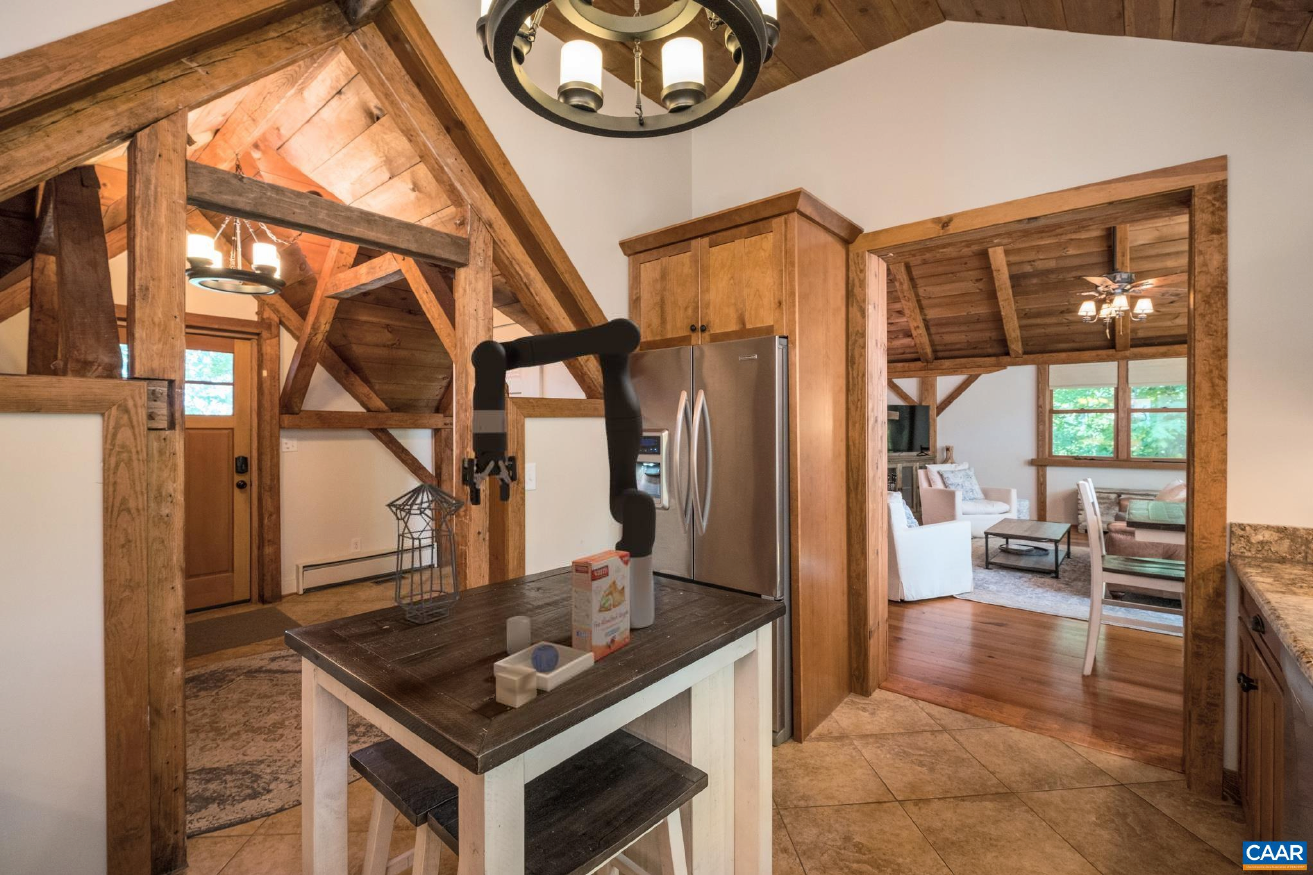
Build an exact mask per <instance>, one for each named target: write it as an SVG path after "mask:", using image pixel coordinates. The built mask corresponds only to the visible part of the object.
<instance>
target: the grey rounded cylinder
mask: <svg viewBox="0 0 1313 875" xmlns="http://www.w3.org/2000/svg"><path fill="white" fill-rule="evenodd" d="M531 644H532V642H531V618H530V617H529V616H526V615H517V616H512V617H509V618H507V619H506V645H507V646H506V654H508V655H509V656H511V655H513V654H515V653H517V652H520V651H522V650H524V649H526V648H528V647H530V646H532V645H531Z"/></svg>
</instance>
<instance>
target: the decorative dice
mask: <svg viewBox="0 0 1313 875" xmlns="http://www.w3.org/2000/svg"><path fill="white" fill-rule="evenodd" d="M558 661H559V654H558V651H557V649H556V648H555V647H554V646H552V645H540V646H538V647H536V648H535V649H534V651H533V653H532V655H531V662H532V665H533V667H534V668H535V669H536V670H537V671H540V672H547V671H551V670H553V669H554V668H555V667H556V665H557V664H558Z"/></svg>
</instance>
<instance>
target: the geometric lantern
mask: <svg viewBox="0 0 1313 875" xmlns="http://www.w3.org/2000/svg"><path fill="white" fill-rule="evenodd" d="M425 493H426V500H425V501H424V496H425ZM420 497H421V498H420ZM430 497H431V498H432V499H430ZM404 498H406V499H404ZM419 498H420V501H419V503H418V502H417V501H418V500H419ZM448 498H449V499H448ZM402 499H404V501H403V502H401V503H397V502H398V501H401V500H402ZM451 500H453V502H452V501H451ZM434 502H436V503H437V505H438V506H439V507H432V504H433V503H434ZM423 504H428V505H426V506H423ZM445 505H447V506H445ZM465 505H467V502H466V501H464V500H461V499H459V497H456V496H454V495H452V494H450V493H448V492H447V491H445V490H443V489H441V488H440V487H438V486H436V485H434V484H432V483H427V482H426V483H421V484H419V485H417V486H416V487H414V488H413V489H411V490H409V491H407V492H406V493H404V494H401V496H399V497H397V498H395V499H394V500H391V502H388V503H387V504H385V507H387V508H388V509H389V510H390V512H391V513H392V514H393V516H395V519H396V521H397V548H396V566H395V567H396V568H395V570H396V571H395V588H394V602H395V603H396V604H398V605H399V606H400V607H401V608H402V609H403V610H405V619H406V620H408V621H411V622H414V623H417V624H419V625H422V624H426V623H430V622H434V621H436V620H440V619H443V618H445V617H449V616H450V614H449V612H450V610H449V609H450V607H452V606H453V605H454V604H455V603H456V602H458V600H459V597H460V593H459V591H460V590H459V581H458V580H459V579H458V565H457V564H458V563H457V548H456V532H455V531H453V526H452V516H456V513H457V512H458V511H459V510H460V509H461V508H462V507H463V506H465ZM414 506H418V507H417V508H414ZM406 507H407V508H406ZM393 508H395V510H394V509H393ZM452 508H453V509H452ZM427 510H428V511H430V512H431V515H429V514H427V513H426V511H427ZM441 510H442V512H441V513H442V516H439V517H437V518H435V516H434V511H441ZM398 511H399V514H398ZM412 511H418V513H416V512H415V513H413V512H412ZM402 512H403V513H405V514H404V515H402ZM445 512H446V513H445ZM398 515H400V516H398ZM423 515H424V516H425V517H427V518H428V519H429V520H428V521H427V520H426V518H425V517H424V516H423ZM411 516H420V517H421V518H422V519H423V521H424V522H425V523H426V525H425V526H424V528H423V529H422V530H415V531H412V530H411V529H410V527H409V525H408V523H409V520H410V518H411ZM448 516H449V520H450V521H449V522H450V526H449V524H448V522H447V518H448ZM405 519H406V520H405ZM439 520H442V521H441V524H440V525H439V527H438V528H436V529H435V528H432V526H431V525H430V522H431V521H432V522H434V521H439ZM400 521H402V522H403V525H404V526H403V529H402V532H401V533H400ZM444 524H445V526H446V529H447V530H445V529H442V526H443V525H444ZM427 527H429V529H426V528H427ZM406 530H407V531H408V532H406ZM424 532H431V536H427V537H421V535H422V534H423V533H424ZM435 532H437V535H435ZM441 532H444V533H448V534H442V535H441ZM417 533H419V534H418V536H417V537H414V534H417ZM407 534H409V536H406V535H407ZM443 537H448V538H449V539H448V540H449V549H450V552H449V553H450V560H451V561H450V562H451V573H452V574H451V575H452V585H453V593H451V592H448V591H445V590H444V589H443V573H442V571H443V570H442V550H441V549H442V547H441V538H443ZM434 538H435V539H436V538H437V546H438V547H437V548H438V563H439V564H438V565H439V566H438V567H439V568H438V569H439V585H440V590H438V589H433V581H434V580H433V579H434V545H435V544H434V542H435V541H434ZM405 539H408V540H409V539H410V540H411V560H410V561H411V566H410V594H409V595H404V596H401V590H402V589H401V587H402V575H403V562H404V560H403V558H404V544H405V543H404V542H405ZM427 539H431V545H430V546H431V551H430V552H431V554H430V556H431V557H430V589H429V590H426V591H424V587H423V585H424V583H423V564H422V562H423V560H422V559H423V558H422V540H427ZM415 541H418V559H419V560H418V561H419V585H420V586H419V587H420V592H418V593H417V592H416V593H414V568H415V566H414V565H415V562H414V560H415ZM400 543H401V544H400ZM399 563H400V564H399ZM433 593H438V595H437V596H436V598H435V600H433V601H432V594H433ZM424 594H425V595H426V594H429V602H424ZM441 594H445V595H448V596H452V597H454V599H450V600H445V601H439V602H437V600H438V598H439V597H440V595H441ZM417 596H420V604H418V605H414V606H413V599H414V598H413V597H417ZM407 598H409V599H410V600H409V601H410V603H409V605H408V604H406V603H403V602H404V601H402V600H404V599H407ZM447 603H450V604H448V605H445V604H447ZM435 606H441V607H444V608H440V609H437V608H435ZM431 607H432V608H431ZM425 608H428V609H425ZM420 609H422V610H421V611H417V610H420ZM438 612H440V613H443V614H444V615H442V616H439V617H435V618H432V619H430V620H427V615H429V614H433V613H438ZM409 613H411V614H409ZM416 615H417V616H419V620H415V619H412V618H409V617H411V616H412V617H413V616H416ZM422 616H423V618H424V620H423V621H422Z"/></svg>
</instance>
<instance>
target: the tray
mask: <svg viewBox="0 0 1313 875" xmlns="http://www.w3.org/2000/svg"><path fill="white" fill-rule="evenodd" d="M540 645H552V646H554V647H555V648H556V649H557V651H558V654H559V661H558V664H557V665H556V667H555V668H554V669H553V670H551V671H547V672H540V671H537V670H536V669H535V668H534V667H533V665H532V662H531V655H532V653H533V651H534V649H535V648H536V647H538V646H540ZM516 664H517V665H521V666H524V667H528V668H532V669H535V670H536V686H537V689H538V690H541V691H544V692H550V691H551V690H554V689H555V688H557V687H558V686H560V685H562V684H564V683H565V682H567V681H569V680H571V679H573V678H574V677H576V676H578V675H579V674H581V673H583V672H585V671H586V670H588V669H590V668H591V667H593V666H595V662H594V653H592V652H588V651H584V650H579V649H575V648H572V646H571V647H570V646H566V645H561V644H557V643H553V642H549V641H543V640H542V641H539V642H537V643H535V644H533V645H531V646H530V647H528V648H526V649H524V650H522V651H520V652H517V653H515V654H513V655H509V656H507V657H505V658H502V659H501V660H498V661H496V662H494V663H493V677H496V674H497V673H499V672H501V671H503V670H505V669H507V668H510V667H512V666H514V665H516Z"/></svg>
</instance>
